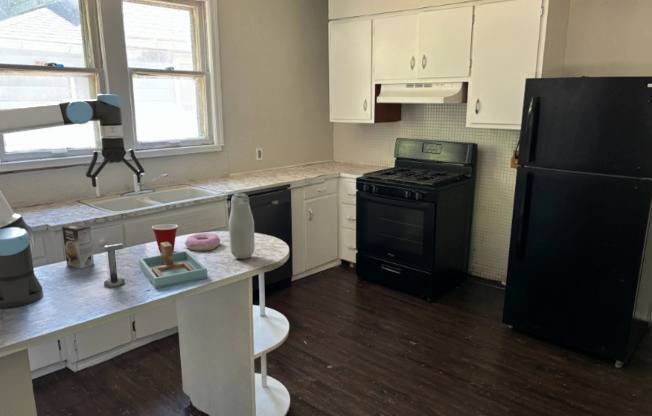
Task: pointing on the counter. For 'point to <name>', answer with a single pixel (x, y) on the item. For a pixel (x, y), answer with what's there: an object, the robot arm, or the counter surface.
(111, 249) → the grey metal stand
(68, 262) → the coffee box
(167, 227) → the plastic cup
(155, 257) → the tray
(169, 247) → the ring
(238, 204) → the glass bottle
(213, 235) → the donut
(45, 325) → the counter surface
